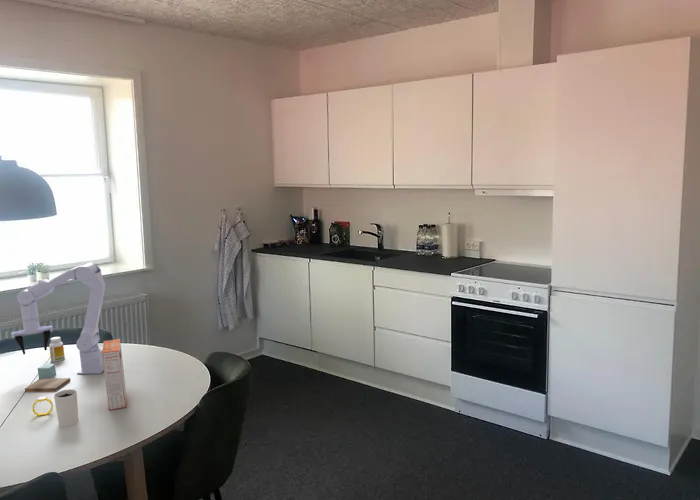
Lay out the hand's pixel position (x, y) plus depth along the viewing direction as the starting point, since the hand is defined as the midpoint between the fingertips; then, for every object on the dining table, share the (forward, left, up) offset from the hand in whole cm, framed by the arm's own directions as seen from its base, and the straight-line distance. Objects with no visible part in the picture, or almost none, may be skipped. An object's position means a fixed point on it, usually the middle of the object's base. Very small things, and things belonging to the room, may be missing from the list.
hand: (34, 351), depth 234 cm
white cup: (-37, +44, -10) cm, 58 cm away
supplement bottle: (+1, -17, -10) cm, 20 cm away
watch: (-25, +38, -10) cm, 46 cm away
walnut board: (-12, +13, -10) cm, 20 cm away
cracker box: (-46, +28, -10) cm, 54 cm away
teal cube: (-6, +3, -10) cm, 12 cm away
